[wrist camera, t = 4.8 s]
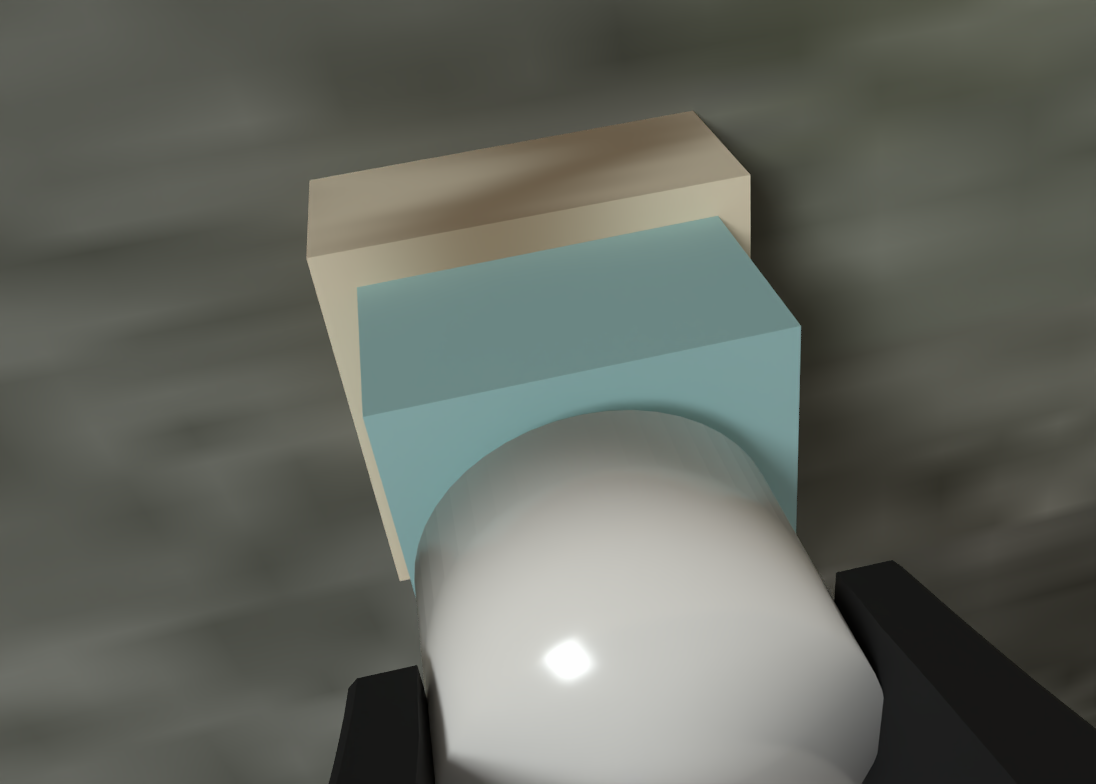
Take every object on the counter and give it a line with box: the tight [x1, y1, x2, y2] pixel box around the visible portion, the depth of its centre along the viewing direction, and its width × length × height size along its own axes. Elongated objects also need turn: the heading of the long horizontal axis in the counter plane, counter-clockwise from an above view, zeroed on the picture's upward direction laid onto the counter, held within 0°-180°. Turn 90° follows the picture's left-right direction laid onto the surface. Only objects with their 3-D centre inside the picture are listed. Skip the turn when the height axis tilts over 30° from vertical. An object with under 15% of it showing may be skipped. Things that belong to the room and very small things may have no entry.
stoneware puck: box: [414, 410, 884, 784], centre depth 11 cm, size 4×4×3 cm
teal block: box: [357, 216, 801, 597], centre depth 14 cm, size 5×5×3 cm
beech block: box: [307, 111, 751, 581], centre depth 16 cm, size 6×6×3 cm
